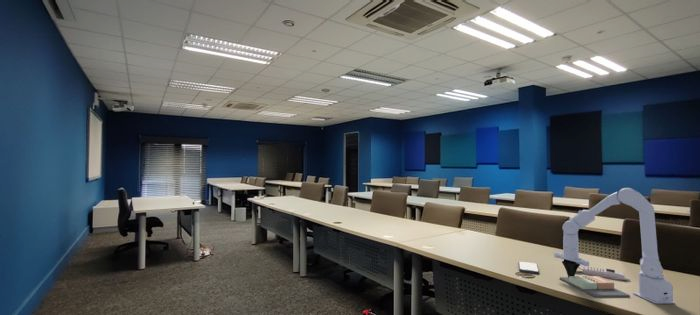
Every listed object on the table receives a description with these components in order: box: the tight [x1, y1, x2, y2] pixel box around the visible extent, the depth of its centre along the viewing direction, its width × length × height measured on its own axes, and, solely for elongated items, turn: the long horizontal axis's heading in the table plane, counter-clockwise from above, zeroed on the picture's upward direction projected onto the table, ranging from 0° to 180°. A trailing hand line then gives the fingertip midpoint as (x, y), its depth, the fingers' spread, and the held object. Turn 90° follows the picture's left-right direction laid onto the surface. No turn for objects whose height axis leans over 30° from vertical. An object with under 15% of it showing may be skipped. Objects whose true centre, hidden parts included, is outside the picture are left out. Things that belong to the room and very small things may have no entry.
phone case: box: [518, 261, 540, 275], centre depth 160 cm, size 9×2×16 cm
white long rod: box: [578, 264, 631, 282], centre depth 152 cm, size 6×6×25 cm
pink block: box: [583, 275, 615, 289], centre depth 136 cm, size 8×7×3 cm
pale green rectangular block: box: [569, 275, 597, 289], centre depth 136 cm, size 8×6×3 cm
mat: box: [559, 276, 631, 298], centre depth 136 cm, size 20×14×1 cm
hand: (571, 277), depth 143 cm, fingers closed
